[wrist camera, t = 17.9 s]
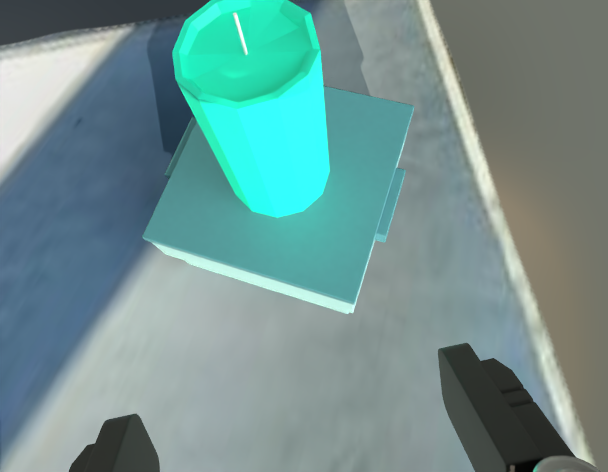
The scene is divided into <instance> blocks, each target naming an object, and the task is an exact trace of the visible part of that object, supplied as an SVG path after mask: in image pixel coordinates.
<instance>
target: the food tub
mask: <svg viewBox="0 0 608 472" xmlns="http://www.w3.org/2000/svg"><path fill="white" fill-rule="evenodd" d="M323 90H324V103H325V116H326V129H327V142H328V155H329V168H330V172H329V175H328V178H327V181H326V184H325V187H324V191H323V194H322V195H321V196H320V197H318V198H317V199H316V200H315V201H314V202H313V203H312V204H311V205H309V206H308V207H307V208H306V209H305V210H304V211H302V212H298V213H294V214H290V215H286V216H282V217H278V218H277V217H273V216H269V215H265V214H261V213H257V212H253V211H251V210H250V209H249V208H248V207H247V206H246V205H245V204H244V203H243V202H242V201H241V200H240V199H239V198H238V197H237V196H236V195H235V193H234V191H233V189H232V187H231V185H230V183H229V181H228V179H227V177H226V175H225V174H224V172H223V170H222V168H221V166H220V164H219V162H218V160H217V158H216V156H215V154H214V152H213V151H212V149H211V147H210V145H209V143H208V141H207V139H206V137H205V135H204V133H203V131H202V129H201V127H200V126H199V124H198V122H197V120H196V118H195V117H192V118H191V120H190V122H189V124H188V126H187V128H186V130H185V132H184V135H183V137H182V139H181V141H180V143H179V145H178V147H177V149H176V151H175V153H174V156H173V158H172V160H171V162H170V164H169V166H168V168H167V170H166V172H165V175H166V177H167V178H168V179H169V181H168V183H167V185H166V187H165V189H164V191H163V193H162V195H161V198H160V200H159V202H158V204H157V206H156V208H155V210H154V212H153V214H152V217H151V219H150V221H149V223H148V225H147V227H146V229H145V231H144V234H143V236H142V238H144V239H145V240H146V241H149V242H152V243H153V244H154V245H155V246H156V247H157V248H159V249H160V250H161V251H162V252H163V253H165V254H166V255H169V256H172V257H175V258H178V259H182V260H185V261H186V262H187V263H188V264H190V265H193V266H196V267H200V268H203V269H206V270H209V271H212V272H215V273H219V274H222V275H225V276H228V277H231V278H235V279H238V280H241V281H244V282H247V283H250V284H254V285H257V286H260V287H263V288H266V289H269V290H273V291H276V292H279V293H282V294H285V295H289V296H292V297H295V298H298V299H301V300H304V301H308V302H311V303H314V304H317V305H320V306H323V307H327V308H330V309H333V310H336V311H339V312H343V313H346V314H348V313H349V312H351V313H353V311H354V308H355V304H356V301H357V298H358V294H359V291H360V288H361V285H362V281H363V278H364V275H365V271H366V268H367V265H368V261H369V258H370V255H371V251H372V248H373V245H374V242H375V240H378V241H381V242H385V241H386V238H387V234H388V231H389V228H390V224H391V221H392V217H393V214H394V211H395V207H396V204H397V200H398V197H399V194H400V190H401V187H402V184H403V180H404V176H405V172H406V170H404V169H400V168H397V166H398V162H399V159H400V156H401V152H402V149H403V146H404V143H405V139H406V135H407V131H408V127H409V124H410V121H411V118H412V114H413V111H414V106H413V105H408V104H404V103H399V102H395V101H390V100H386V99H381V98H376V97H372V96H367V95H363V94H358V93H354V92H349V91H345V90H340V89H336V88H331V87H327V86H323Z"/></svg>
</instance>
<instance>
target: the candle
mask: <svg viewBox="0 0 608 472" xmlns="http://www.w3.org/2000/svg"><path fill="white" fill-rule="evenodd" d="M172 55H173V63H174V71H175V79H176V81H177V83H178V85H179V87H180V89H181V91H182V93H183V95H184V97H185V99H186V101H187V103H188V104H189V106H190V108H191V110H192V112H193V114H194V116H195V118H196V120H197V122H198V124H199V126H200V127H201V129H202V131H203V133H204V135H205V137H206V139H207V141H208V143H209V145H210V147H211V149H212V151H213V152H214V154H215V156H216V158H217V160H218V162H219V164H220V166H221V168H222V170H223V172H224V174H225V175H226V177H227V179H228V181H229V183H230V185H231V187H232V189H233V191H234V193H235V195H236V196H237V197H238V198H239V199H240V200H241V201H242V202H243V203H244V204H245V205H246V206H247V207H248V208H249V209H250V210H251V211H253V212H257V213H261V214H265V215H269V216H273V217H277V218H278V217H282V216H286V215H290V214H294V213H298V212H302V211H304V210H305V209H306V208H307V207H308V206H309V205H311V204H312V203H313V202H314V201H315V200H316V199H317V198H318V197H320V196H321V195H322V194H323V191H324V187H325V184H326V181H327V178H328V175H329V172H330V168H329V155H328V142H327V129H326V116H325V103H324V90H323V77H322V64H321V51H320V46H319V42H318V38H317V35H316V31H315V27H314V24H313V20H312V16H311V13H309V12H307V11H306V10H304V9H302V8H300V7H299V6H297V5H295V4H293V3H292V2H290V1H288V0H211V1H210V2H208V3H207V4H206V5H204V6H203V7H202V8H201V9H199V10H198V11H197V12H195V13H194V14H193V15H192V16H190V17H189V18H188V19H186V20H185V22H184V25H183V27H182V30H181V32H180V35H179V37H178V39H177V42H176V44H175V47H174V49H173V51H172Z"/></svg>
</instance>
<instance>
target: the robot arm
mask: <svg viewBox="0 0 608 472" xmlns="http://www.w3.org/2000/svg"><path fill="white" fill-rule="evenodd" d="M438 358H439V368H440V378H441V387H442V395H443V400H444V404H445V407H446V410H447V413H448V416H449V418H450V420H451V422H452V424H453V426H454V428H455V430H456V433H457V435H458V437H459V439H460V441H461V443H462V445H463V447H464V449H465V451H466V453H467V455H468V457H469V459H470V462H471V464H472V466H473V468H474V470H475V472H601V471H600V470H598V469H597V468H596V467H594V466H593V465H591V464H590V463H588V462H586V461H584V460H581V459H578V458H576V457H575V455H574V454H573V453H572V452H571V451H570V449H569V448H568V446H567V445H566V444H565V442H564V441H563V440H562V438H561V437H560V436H559V434H558V433H557V431H556V430H555V429H554V427H553V426H552V425H551V423H550V422H549V420H548V419H547V418H546V416H545V415H544V414H543V412H542V411H541V410H540V408H539V407H538V405H537V404H536V403H535V402H533V399H532V397H531V396H530V395H529V393H528V392H527V390H526V389H524V388H523V385H522V384H521V382H520V381H519V379H518V378H517V377H516V375H515V374H514V373H513V371H512V370H511V369H509V368H508V367H506V366H505V365H503V364H502V363H500V362H499V361H497V360H496V359H494V358H493V359H488V360H483V361H480V360H479V358H478V357H477V355H476V354H475V352H474V351H473V349H472V348H471V346H470V345H469V344H468V343H463V344H459V345H454V346H449V347H445V348H440V349H439V350H438ZM69 472H160V466H159V459H158V455H157V453H156V450H155V448H154V446H153V444H152V442H151V440H150V438H149V435H148V433H147V431H146V429H145V427H144V425H143V423H142V420H141V418H140V417H139V416H138V415H137V414H132V415H127V416H122V417H118V418H113V419H109V420H106V421H105V422H104V424H103V426H102V428H101V431H100V433H99V435H98V438H97V440H96V443H95V444H91V445H87V446H86V448H85V449H84V450H83V451H82V452H81V454H80V455H79V456H78V457H77V459H76V460H75V461H74V462H73V463H72V465H71V467H70V470H69Z"/></svg>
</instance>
